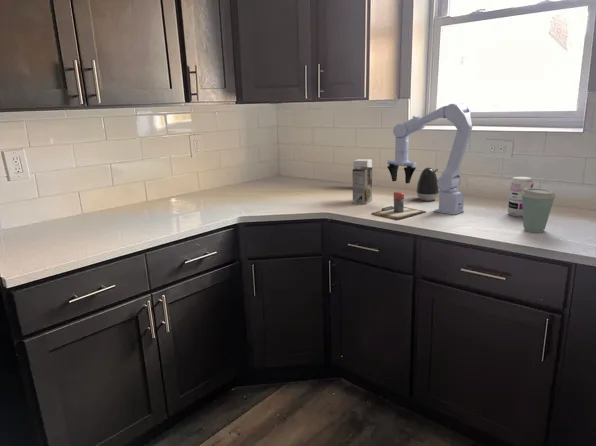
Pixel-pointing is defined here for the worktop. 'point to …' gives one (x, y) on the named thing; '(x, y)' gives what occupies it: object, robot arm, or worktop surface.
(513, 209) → the supplement can
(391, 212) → the clipboard
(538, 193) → the disposable coffee cup
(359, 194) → the coffee box
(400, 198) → the marker
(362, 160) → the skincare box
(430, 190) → the pump dispenser
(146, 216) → the worktop surface
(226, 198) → the worktop surface
